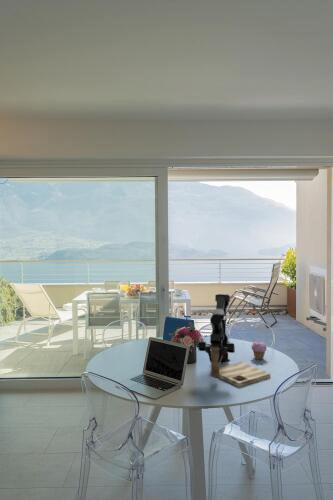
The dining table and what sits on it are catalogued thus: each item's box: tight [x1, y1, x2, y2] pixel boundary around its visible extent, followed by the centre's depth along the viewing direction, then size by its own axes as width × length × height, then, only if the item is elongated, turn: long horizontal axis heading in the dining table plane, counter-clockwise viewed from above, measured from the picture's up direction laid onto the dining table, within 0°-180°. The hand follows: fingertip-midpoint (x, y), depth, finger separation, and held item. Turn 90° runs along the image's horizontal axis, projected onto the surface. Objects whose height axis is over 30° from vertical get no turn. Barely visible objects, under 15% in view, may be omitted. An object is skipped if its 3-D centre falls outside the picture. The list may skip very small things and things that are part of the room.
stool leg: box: [210, 346, 220, 378], centre depth 206 cm, size 4×4×15 cm
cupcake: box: [251, 341, 267, 360], centre depth 242 cm, size 9×9×10 cm
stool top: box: [218, 361, 271, 388], centre depth 216 cm, size 22×22×2 cm
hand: (214, 362), depth 204 cm, fingers closed on stool leg, 4 cm apart
